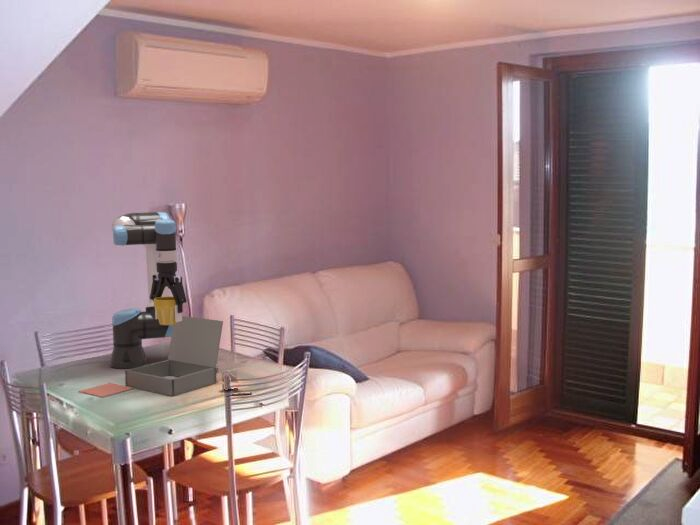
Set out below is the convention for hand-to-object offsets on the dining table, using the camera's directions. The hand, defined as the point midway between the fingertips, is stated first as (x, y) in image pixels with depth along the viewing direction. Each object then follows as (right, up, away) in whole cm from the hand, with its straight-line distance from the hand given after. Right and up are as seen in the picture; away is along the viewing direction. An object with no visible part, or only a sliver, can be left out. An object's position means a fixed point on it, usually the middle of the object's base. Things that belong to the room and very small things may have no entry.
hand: (168, 319), depth 295 cm
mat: (-22, -26, -5) cm, 34 cm away
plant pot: (0, -2, 0) cm, 2 cm away
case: (+2, -25, +4) cm, 25 cm away
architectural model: (+24, -26, -6) cm, 36 cm away
